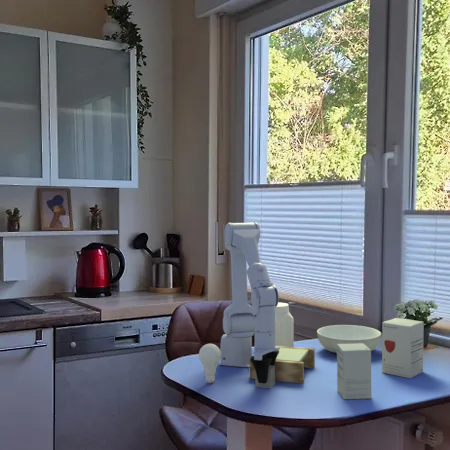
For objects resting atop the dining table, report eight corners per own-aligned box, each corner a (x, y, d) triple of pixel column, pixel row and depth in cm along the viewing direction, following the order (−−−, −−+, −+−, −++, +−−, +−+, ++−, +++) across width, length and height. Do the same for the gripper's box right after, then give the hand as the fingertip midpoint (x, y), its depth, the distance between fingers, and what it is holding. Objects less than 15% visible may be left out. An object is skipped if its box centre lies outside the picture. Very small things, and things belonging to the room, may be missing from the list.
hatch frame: (249, 378, 167) (249, 359, 167) (266, 362, 183) (265, 344, 183) (302, 383, 162) (302, 363, 162) (314, 366, 178) (314, 348, 178)
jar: (275, 353, 193) (274, 308, 193) (255, 348, 201) (254, 304, 200) (298, 347, 201) (298, 304, 200) (278, 342, 208) (278, 300, 208)
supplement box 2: (380, 372, 171) (380, 321, 170) (395, 366, 177) (395, 317, 177) (410, 379, 164) (410, 326, 164) (424, 372, 171) (424, 321, 170)
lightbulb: (205, 387, 159) (204, 347, 158) (195, 381, 164) (195, 342, 164) (225, 384, 162) (224, 344, 161) (215, 378, 167) (214, 340, 167)
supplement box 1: (364, 389, 156) (364, 342, 155) (371, 399, 148) (371, 349, 148) (336, 390, 156) (336, 343, 155) (342, 399, 148) (342, 350, 148)
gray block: (255, 386, 160) (255, 368, 159) (259, 382, 164) (259, 364, 163) (271, 388, 158) (270, 370, 158) (275, 383, 162) (275, 365, 162)
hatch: (256, 360, 168) (256, 357, 168) (268, 349, 181) (268, 346, 181) (298, 364, 164) (298, 361, 164) (308, 352, 176) (308, 349, 176)
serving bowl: (306, 354, 192) (306, 333, 192) (332, 341, 209) (332, 322, 209) (367, 364, 180) (367, 341, 180) (390, 349, 197) (390, 329, 197)
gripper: (272, 337, 152) (272, 389, 153) (285, 325, 166) (285, 373, 166) (246, 335, 154) (246, 386, 155) (261, 324, 168) (261, 371, 169)
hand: (265, 379), depth 161 cm, fingers open, 5 cm apart
